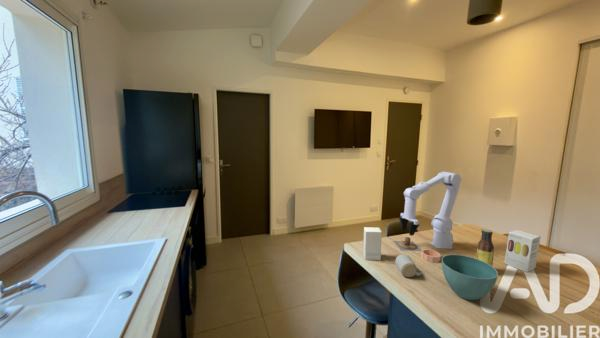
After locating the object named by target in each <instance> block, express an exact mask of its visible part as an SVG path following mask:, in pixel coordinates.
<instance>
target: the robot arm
mask: <svg viewBox="0 0 600 338" xmlns="http://www.w3.org/2000/svg"><path fill="white" fill-rule="evenodd" d="M461 181H462V177H461V175H460V174H459V173H456V172H455V173H454V172H449V171H443V170H442V171H440V172H438V173H437V175H436V176H434V177H432V178H430V179H429V180H427V181H419V183H418V184H416V185H413V186H412V187H408V188H405V190H404V191H403V196H404V200H405V201H404V210H403V212H400V217H398V220H399V221H400V226H401V227H400V228H401V231H406V230H407V227H408V228H409V231H408V233H409V234H408V235H409V236H414V235H415V233H416V231H417V229H418V228H419V227H420V224H419V223H420V222H419V220H418V219H417V218H416V210H417V209H416V208H417V200H419V199H420V196H422V195H423V194H425V193H427V192H428V191H430V188H432V187H434V186H436V185H438V184H441V183H442V184H443V185H444V186H445V188H446V192H445V195H444V198H443V201H442V204H441V207H440V210H439V213H438V214H436V215H434V217H433V219H432V220H431V222H430V223H431V227H432V229H433V236H432V241H429V243H430V244H431V245H432V246H434V248H436V249H445V250H446V249H449V250H450V249H451V250H452V249H453V241H454V237H453V233H452V232H451V231H452V230H453V220H452V219H451V217H450V216H451V214H452V211H453V208H454V205H455V202H456V200H457V199H456V198H457V196H458V193H459V189H460V185H461ZM409 221H410V222H409Z"/></svg>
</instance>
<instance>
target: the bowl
mask: <svg viewBox="0 0 600 338" xmlns="http://www.w3.org/2000/svg"><path fill="white" fill-rule="evenodd" d="M421 250H422V251H420V253H421V254H420V257H421V258H422V260H424V261H426V262H429V263H432V264H433V263H441V259H442V258H441V257H442V256H441V253H440V252H438V251H436V250H433V249H431V248H430V249H429V248H423V249H421Z"/></svg>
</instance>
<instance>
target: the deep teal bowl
mask: <svg viewBox="0 0 600 338" xmlns="http://www.w3.org/2000/svg"><path fill="white" fill-rule="evenodd" d="M441 257H442V258H441V268H442V273H443V275H444V276H443V277H444V278H445V281H446V282H447V284H448V287H450V289H451V290H452V292H453V293H454V294H455V295H456V296H458V297H460V298H462V299H465V300H469V301H477V300H480V299H481V298H484V297H485V296H486V295H488V294H489V293H490V292H491V290H493V288H494V286H495V285H496V283H497V280H498V276H499V273H498V271H497V269H496V268H494V267H493V266H490V265H489V264H487V263H485V262H483V261H481V260H478V259H476V258H474V257H471V256H467V255H461V254H445V255H444V256H441Z"/></svg>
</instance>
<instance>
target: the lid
mask: <svg viewBox="0 0 600 338" xmlns="http://www.w3.org/2000/svg"><path fill="white" fill-rule="evenodd" d="M399 241H400V242H399V243H398V245H399V246H400V247H402V248H404V249H409V250H413V249H416V245H417V244H416V243H415V242H414V243H415V244H416V245H415V244H414V243H411V242H412V241H411V237H410V236H405V238H404V240H399Z"/></svg>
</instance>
